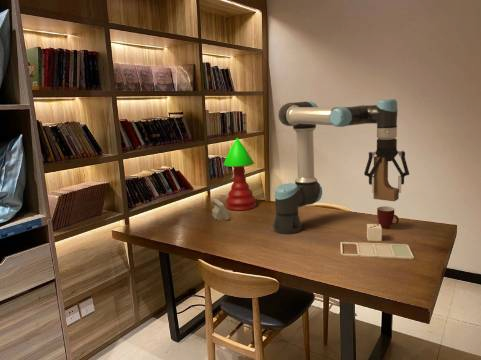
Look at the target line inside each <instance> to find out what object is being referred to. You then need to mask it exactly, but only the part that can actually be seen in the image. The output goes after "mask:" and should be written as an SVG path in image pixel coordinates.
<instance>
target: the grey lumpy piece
mask: <svg viewBox="0 0 481 360" xmlns="http://www.w3.org/2000/svg"><path fill="white" fill-rule="evenodd" d="M211 202H212V204H213V206H214V207H213V208H212V209H211V213H212V216H213V219H215V220H216V219H217V220H219V219H224V220H225V219H226V220H225V221H229V220H230V219H231V218H230V216H229V213H228V211H227V208H226V205H224V203H223V202H221V201H220V200H219V199H217V198H212V199H211ZM217 220H216V221H217ZM219 221H220V220H219Z"/></svg>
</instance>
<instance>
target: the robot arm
mask: <svg viewBox="0 0 481 360" xmlns="http://www.w3.org/2000/svg"><path fill="white" fill-rule="evenodd" d="M398 111H399V110H398V101H397V99H395V98H390V99H379V100H377V102H376V104H374V105H371V104H367V105H365V104H364V105H356V106H355V105H354V106H343V107H342V106H337V107H336V106H335V107H331V106H330V107H329V106H326V107H325V106H323V107H320V106H318V105H317V104H316V103H315V102H313V101H298V102H295V101H294V102H287V103H285V104H283V105H282V106H281V107H280V108H279V110H278V116H277V117H278V120H279V122H280V123H281V124H282V125H284V126H287V127H292V129H293V131H295V133H296V162H297V163H296V164H297V165H296V166H297V177H296V178H295V179H294V183H292V182H289V183H282V184H280V185H278V186H276V187H275V190H274V199H275V200H274V201H275V202H274V203H275V217H274V220H273V224H272V230H273V232H275V233H278V234H285V235H286V234H287V235H290V234H296V233H299V232H301V231H302V230H303V224H302V220H301V218H300V215H299V208H301V207H305V206H310V205H314V204H315V203H318V202H319V201H320V200H321V199H322V196H323V189H322V186H321V184H320V182H318V179H317V178H316V177H315V161H314V160H315V156H314V155H315V153H314V131H315V130H316V128H317V125H318V126H322V125H323V126H333V127H336V128H344V127H348V126H356V125H357V126H359V125H366V124H376V138H377V139H376V149H375V151H372V152H371V151H369V152H368V159H367V162H366V166H365V170H364V176H365V177H368V185H370V186H371V193H372V194H373V193H374V172H375V171H376V169H377V167H378V166H379V164H380V163H381V161H382V158H384V157H385V161H388V162H392V163H393V164H394V165H393V166H395V168H396V170H397V172H398V173H399V175H398V176H397V177H398V180H397V181H398V183H397V189H399V194H401V193H402V185H404V184H405V177H406V176H409V175H410V171H409V167H408V164H407V160H406V152H405V151H404V150H401V151H399V150H398V149H397V147H398V146H397V144H398V143H397V142H398V139H397V137H398V135H397V134H398ZM375 155H376V156H378V157H380V158H379V160H378V161H377V163H376V164H375V166H374V165H373V167H372V168H371V165H372V162H373V158H374V157H375ZM397 155H398V156H399V157H400V159H401V164H402V167H403V170H402V168H401V167H400V165H399V163H398V162H397V160H396V159H395V158H396V157H397ZM370 168H371V170H370ZM403 171H404V172H403Z"/></svg>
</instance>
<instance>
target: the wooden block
mask: <svg viewBox="0 0 481 360" xmlns="http://www.w3.org/2000/svg"><path fill="white" fill-rule="evenodd" d="M379 158H380V157H378V156H377V155H376V156H375V155H374V157H373V166H375V164H376V163H377V161H378V160H379ZM373 176H374V193H372V194H373V197H372V198H373V199H374V200H380V201H387V202H396V201H398V200H399V196H400V195H399V194H400V193H399V189H398V187H393V186H392V185H391V184H390V182H389V161H385V157H384V158H382V161H381V163H380V164H379V166H378V167H377V169H376V171H375V172H374V174H373Z"/></svg>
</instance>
